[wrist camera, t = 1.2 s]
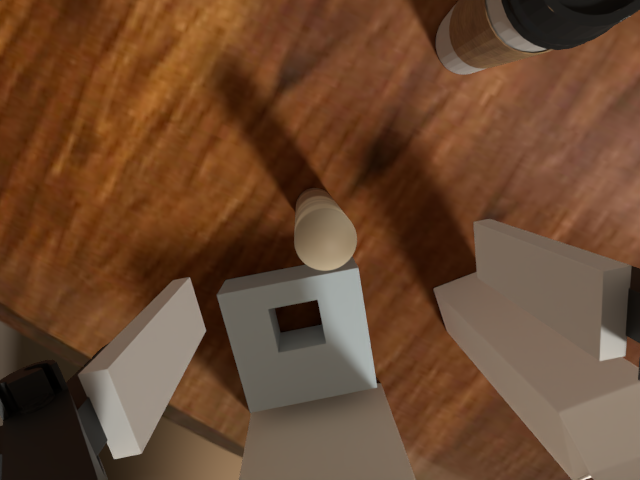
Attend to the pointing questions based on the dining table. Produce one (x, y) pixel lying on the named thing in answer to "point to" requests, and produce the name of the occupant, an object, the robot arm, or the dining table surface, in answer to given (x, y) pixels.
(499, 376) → the milk
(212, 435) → the dining table surface
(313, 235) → the birch peg
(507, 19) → the coffee cup
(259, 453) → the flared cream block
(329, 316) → the socket block
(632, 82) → the dining table surface
